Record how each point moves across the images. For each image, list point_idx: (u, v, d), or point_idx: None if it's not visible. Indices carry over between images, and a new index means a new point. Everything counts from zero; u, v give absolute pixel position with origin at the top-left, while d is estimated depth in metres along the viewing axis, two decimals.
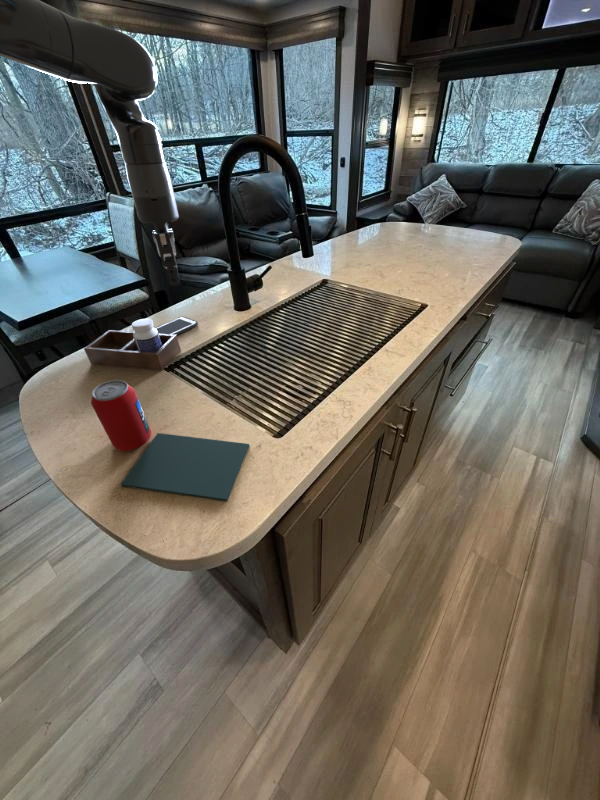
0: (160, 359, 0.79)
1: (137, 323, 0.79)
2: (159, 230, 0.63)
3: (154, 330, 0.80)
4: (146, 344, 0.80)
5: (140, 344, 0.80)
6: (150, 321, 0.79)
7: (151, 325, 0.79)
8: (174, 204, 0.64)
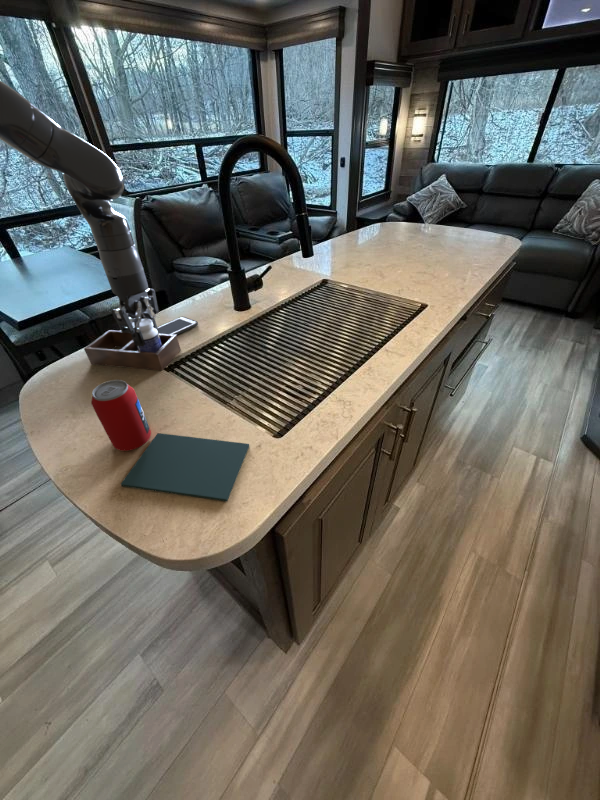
0: (160, 359, 0.79)
1: None
2: (121, 302, 0.72)
3: (154, 330, 0.80)
4: (146, 344, 0.80)
5: None
6: (150, 321, 0.79)
7: (151, 325, 0.79)
8: (137, 281, 0.71)
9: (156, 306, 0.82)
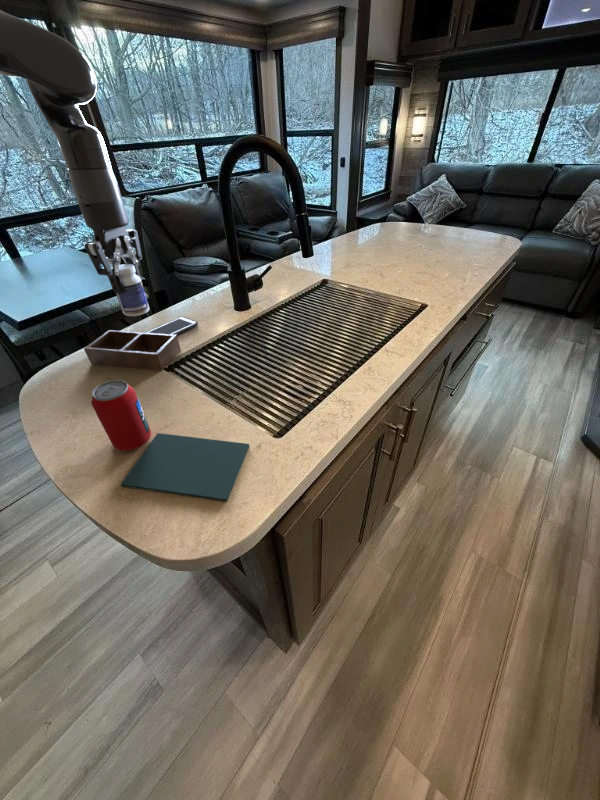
0: (160, 359, 0.79)
1: None
2: (96, 237, 0.62)
3: (136, 277, 0.71)
4: (127, 292, 0.70)
5: None
6: (132, 266, 0.70)
7: (133, 270, 0.69)
8: (114, 211, 0.61)
9: (139, 251, 0.72)
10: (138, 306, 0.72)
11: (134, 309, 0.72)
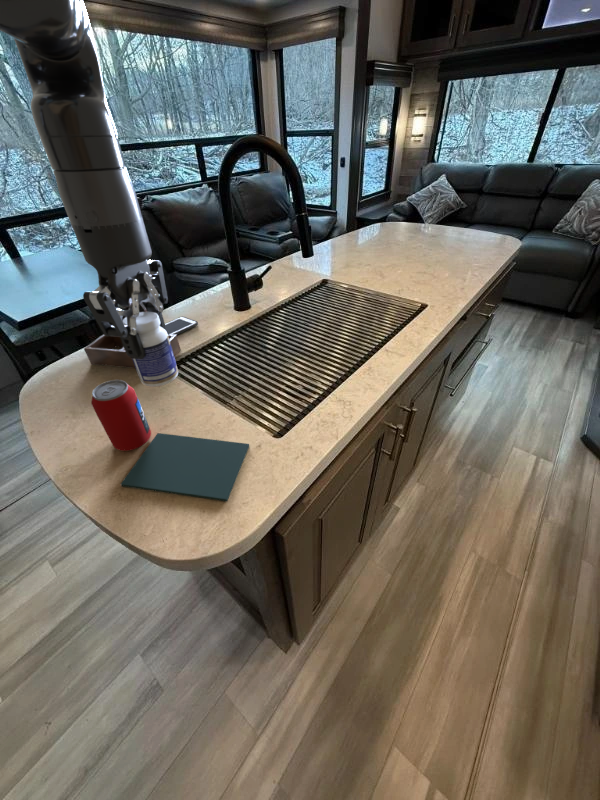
0: None
1: None
2: (102, 280, 0.39)
3: (162, 331, 0.47)
4: (148, 356, 0.46)
5: None
6: (155, 316, 0.46)
7: (157, 323, 0.46)
8: (131, 239, 0.38)
9: (164, 291, 0.49)
10: (163, 372, 0.49)
11: (158, 378, 0.49)
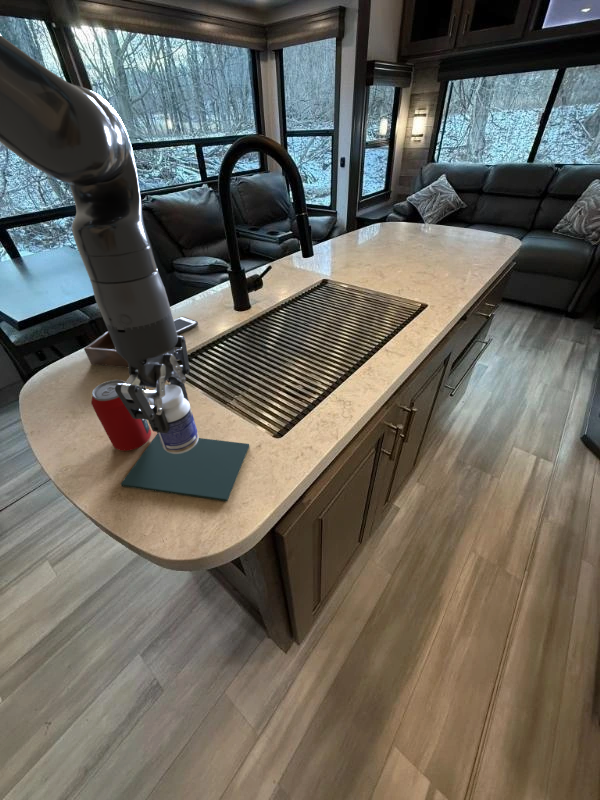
0: None
1: None
2: (132, 370, 0.40)
3: (185, 404, 0.49)
4: (172, 429, 0.48)
5: None
6: (179, 391, 0.48)
7: (181, 398, 0.47)
8: (161, 334, 0.39)
9: (187, 362, 0.51)
10: (185, 442, 0.50)
11: (180, 447, 0.50)
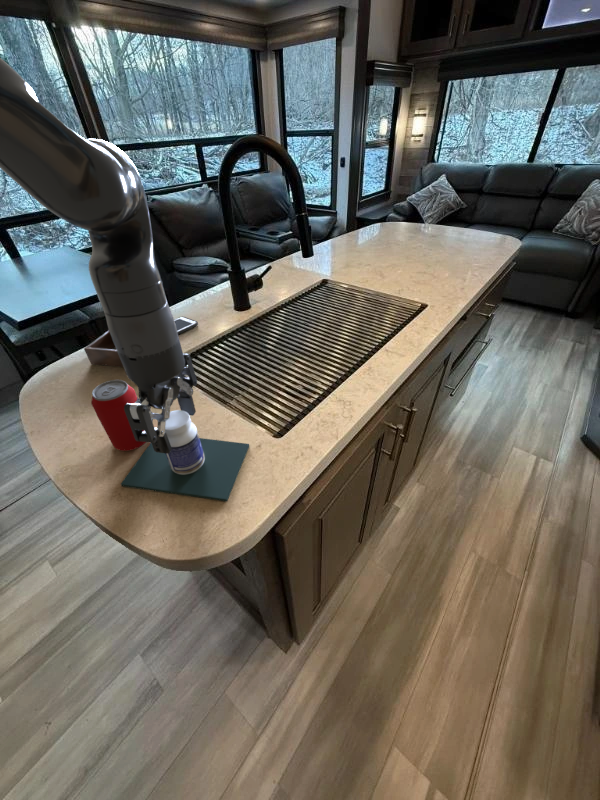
0: None
1: (167, 421, 0.50)
2: (142, 392, 0.43)
3: (192, 429, 0.52)
4: (180, 452, 0.51)
5: (170, 452, 0.51)
6: (187, 417, 0.51)
7: (188, 424, 0.51)
8: (170, 360, 0.42)
9: (193, 376, 0.53)
10: (192, 463, 0.54)
11: (187, 468, 0.54)
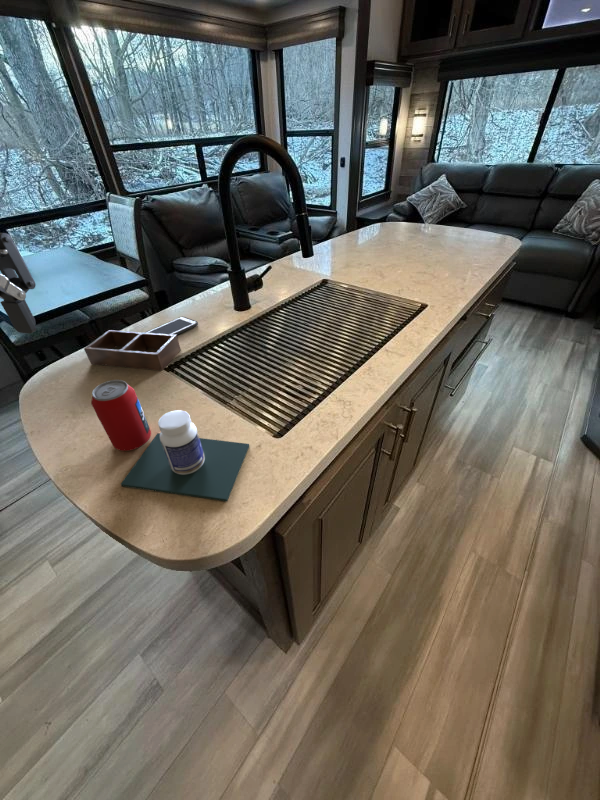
0: (160, 359, 0.79)
1: (167, 421, 0.50)
2: None
3: (192, 429, 0.52)
4: (180, 452, 0.51)
5: (170, 452, 0.51)
6: (187, 417, 0.51)
7: (188, 424, 0.51)
8: None
9: (25, 273, 0.37)
10: (192, 463, 0.54)
11: (187, 468, 0.54)
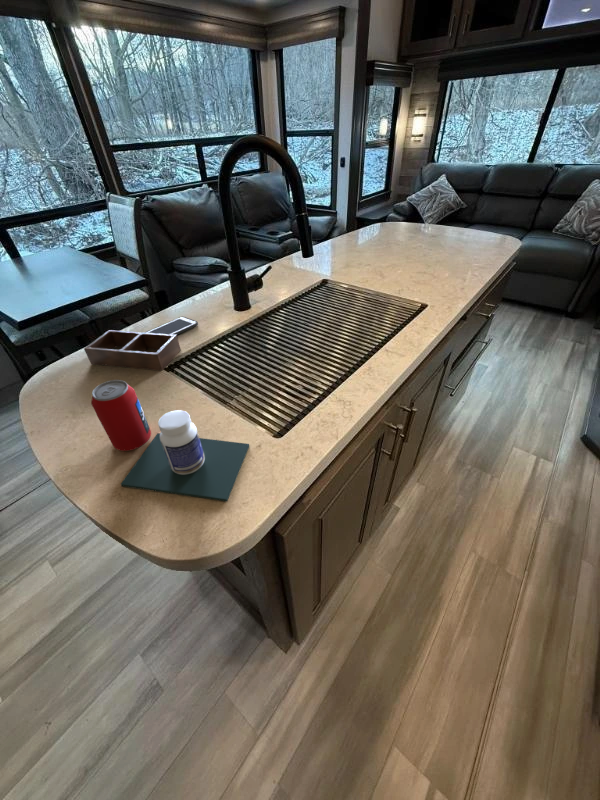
0: (160, 359, 0.79)
1: (167, 421, 0.50)
2: None
3: (192, 429, 0.52)
4: (180, 452, 0.51)
5: (170, 452, 0.51)
6: (187, 417, 0.51)
7: (188, 424, 0.51)
8: None
9: None
10: (192, 463, 0.54)
11: (187, 468, 0.54)
